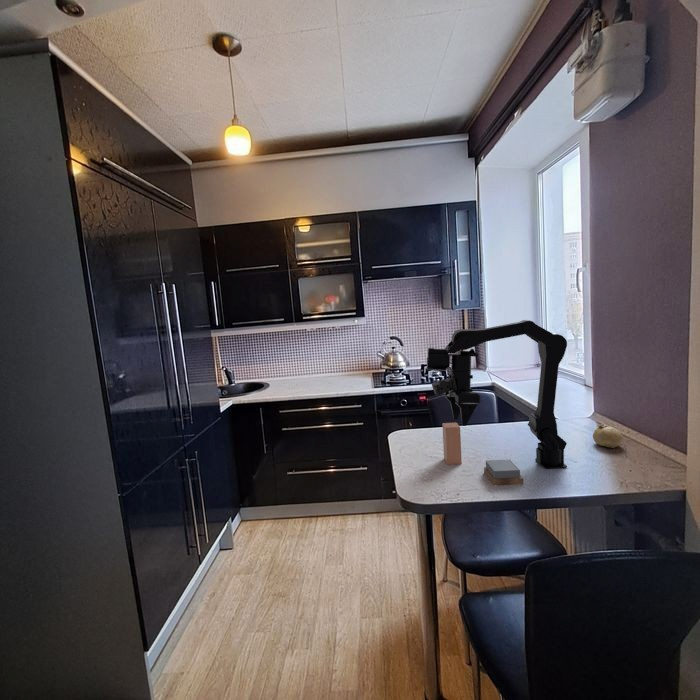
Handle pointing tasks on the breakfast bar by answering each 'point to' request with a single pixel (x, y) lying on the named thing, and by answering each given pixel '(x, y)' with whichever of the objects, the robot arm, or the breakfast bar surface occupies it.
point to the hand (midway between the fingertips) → (459, 422)
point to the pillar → (452, 443)
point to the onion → (607, 436)
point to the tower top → (502, 469)
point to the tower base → (503, 479)
